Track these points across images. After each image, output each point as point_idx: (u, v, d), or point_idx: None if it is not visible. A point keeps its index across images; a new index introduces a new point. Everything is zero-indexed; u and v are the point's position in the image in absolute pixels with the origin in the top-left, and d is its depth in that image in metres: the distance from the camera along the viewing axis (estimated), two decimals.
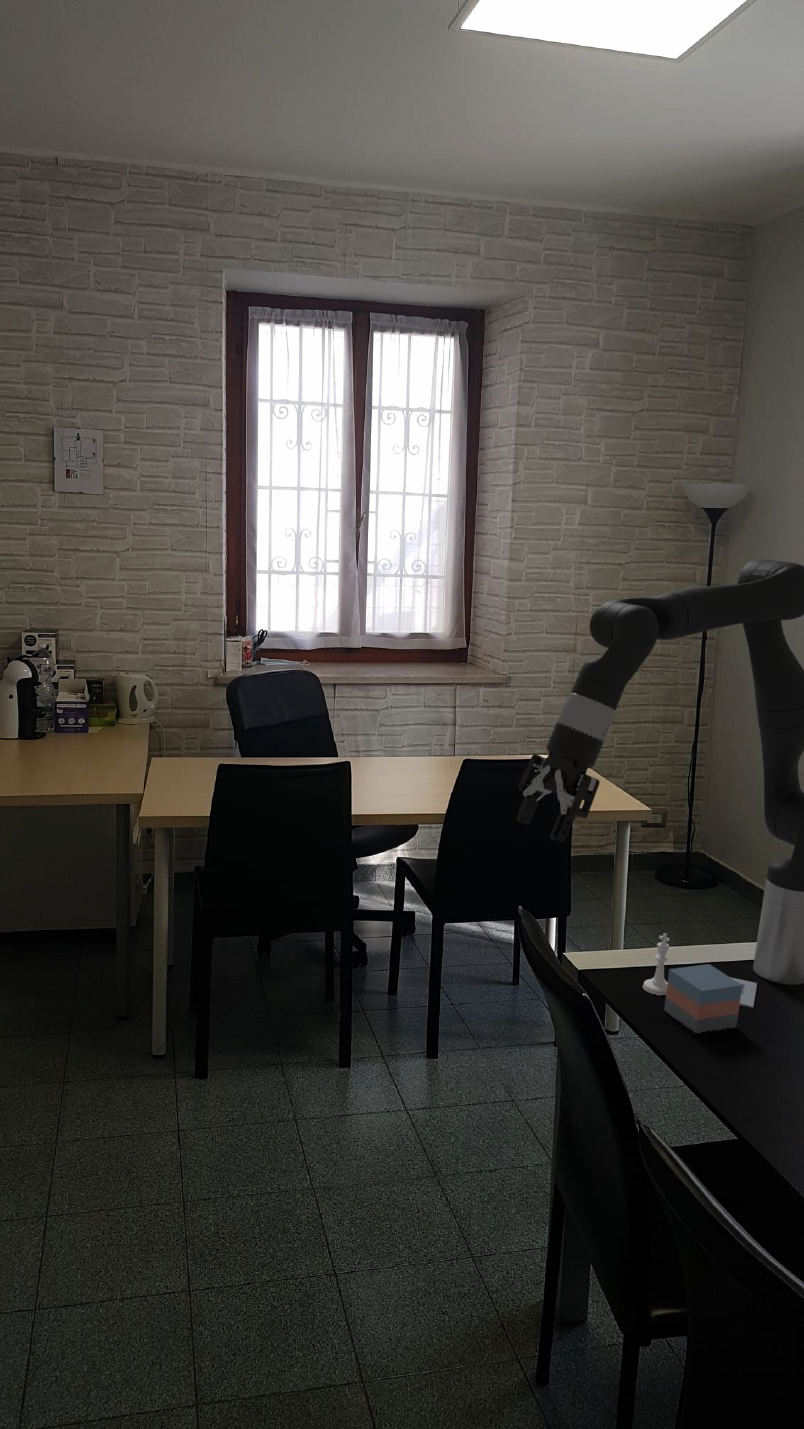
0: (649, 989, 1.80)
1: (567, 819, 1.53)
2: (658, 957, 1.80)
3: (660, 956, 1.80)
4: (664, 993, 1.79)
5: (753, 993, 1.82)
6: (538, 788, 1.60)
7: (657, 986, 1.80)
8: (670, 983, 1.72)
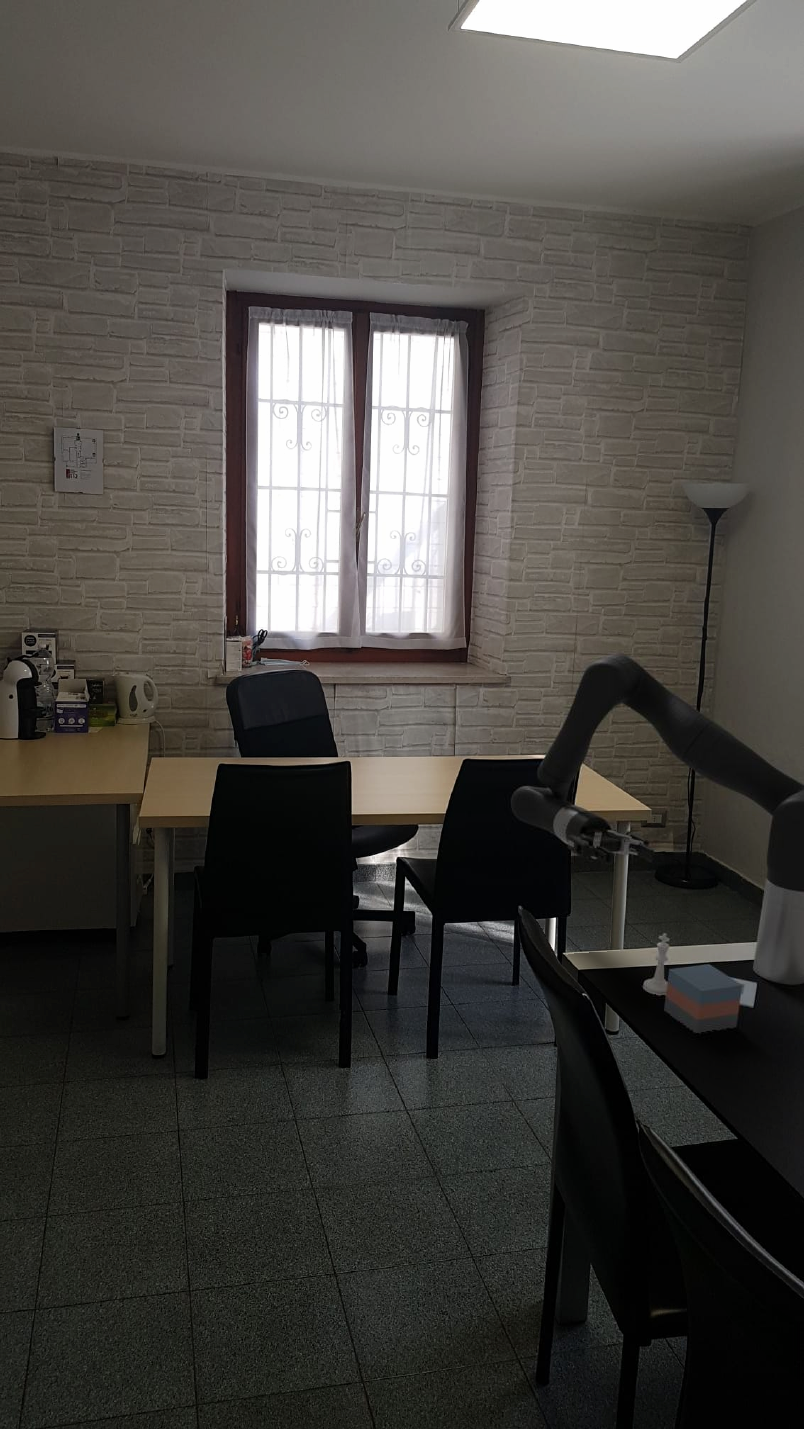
0: (649, 989, 1.80)
1: (595, 855, 1.88)
2: (658, 957, 1.80)
3: (660, 956, 1.80)
4: (664, 993, 1.79)
5: (753, 993, 1.82)
6: (626, 850, 1.94)
7: (657, 986, 1.80)
8: (670, 983, 1.72)
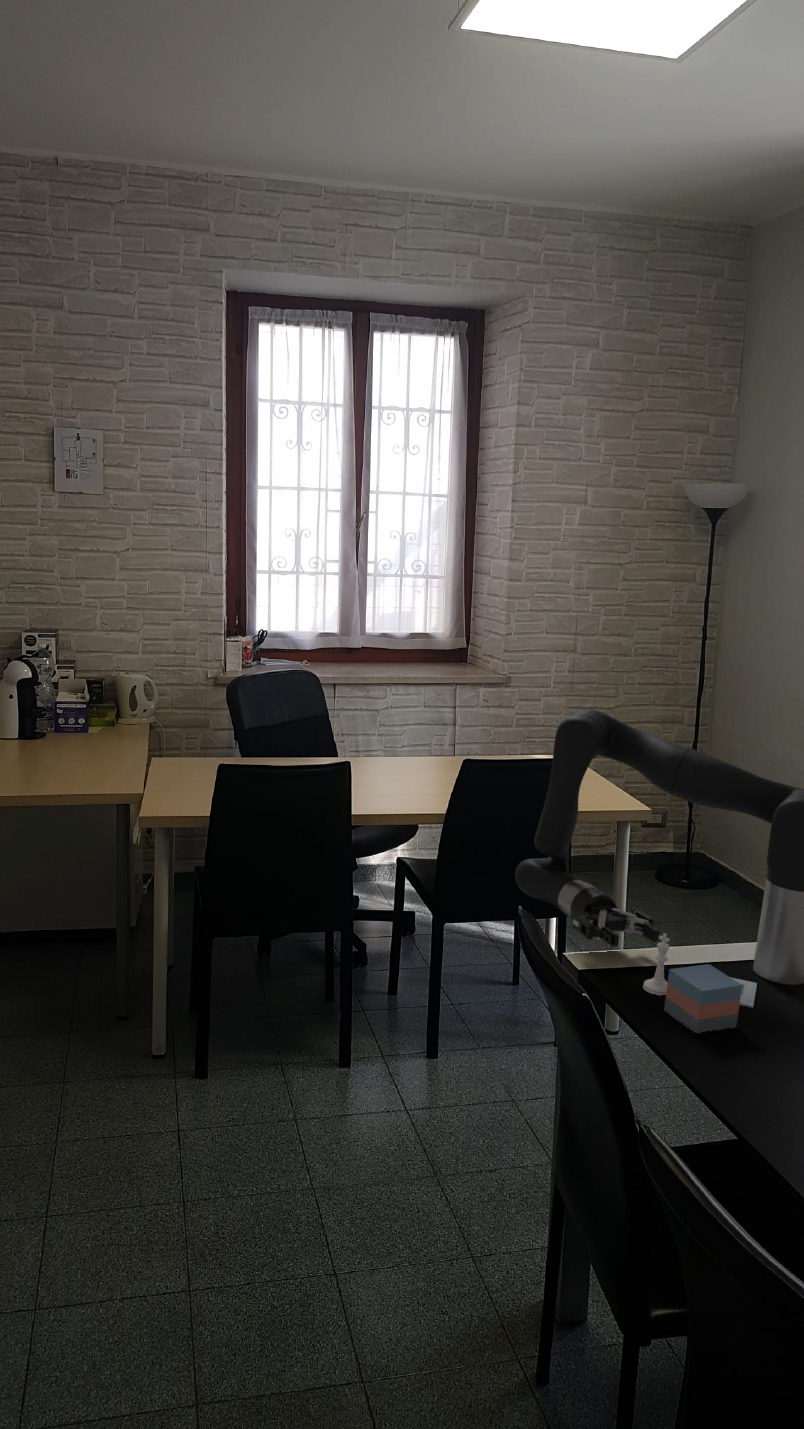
0: (649, 989, 1.80)
1: (600, 936, 1.88)
2: (658, 957, 1.80)
3: (660, 956, 1.80)
4: (664, 993, 1.79)
5: (753, 993, 1.82)
6: (631, 929, 1.93)
7: (657, 986, 1.80)
8: (670, 983, 1.72)
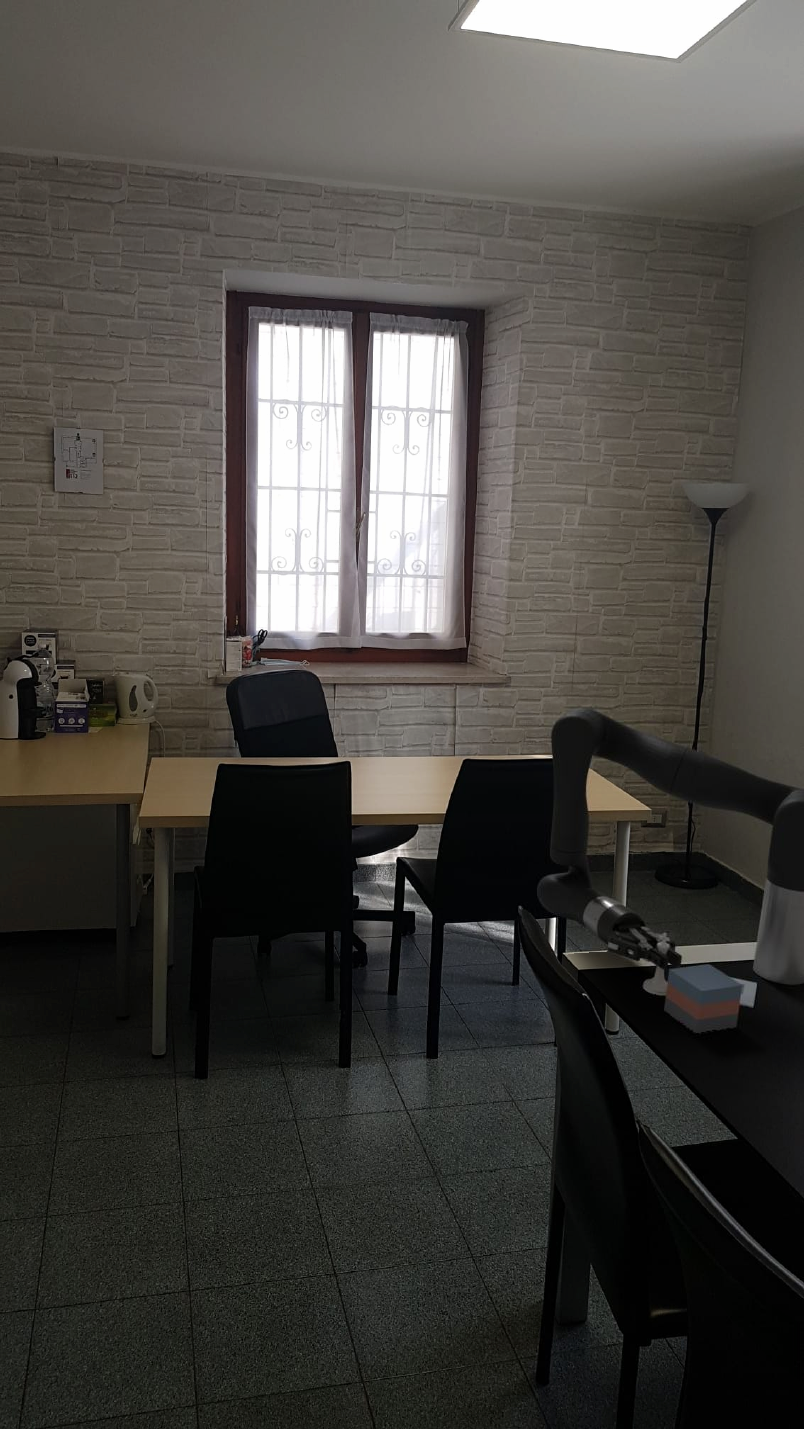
0: (649, 989, 1.80)
1: (648, 958, 1.80)
2: None
3: None
4: (664, 993, 1.79)
5: (753, 993, 1.82)
6: None
7: (657, 986, 1.80)
8: (670, 983, 1.72)
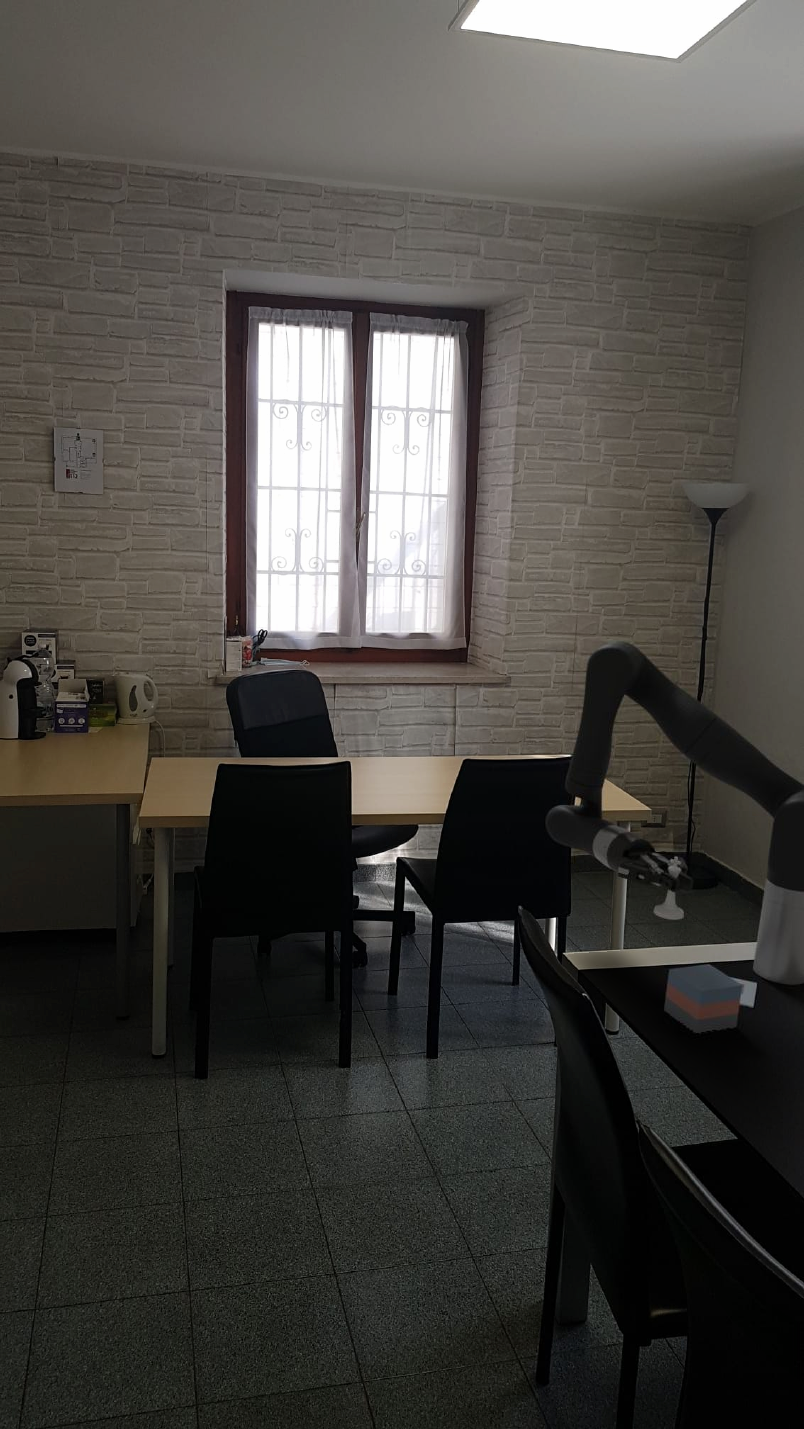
0: (660, 913, 1.77)
1: (659, 882, 1.77)
2: None
3: None
4: (675, 917, 1.76)
5: (753, 993, 1.82)
6: None
7: (668, 910, 1.77)
8: (670, 983, 1.72)
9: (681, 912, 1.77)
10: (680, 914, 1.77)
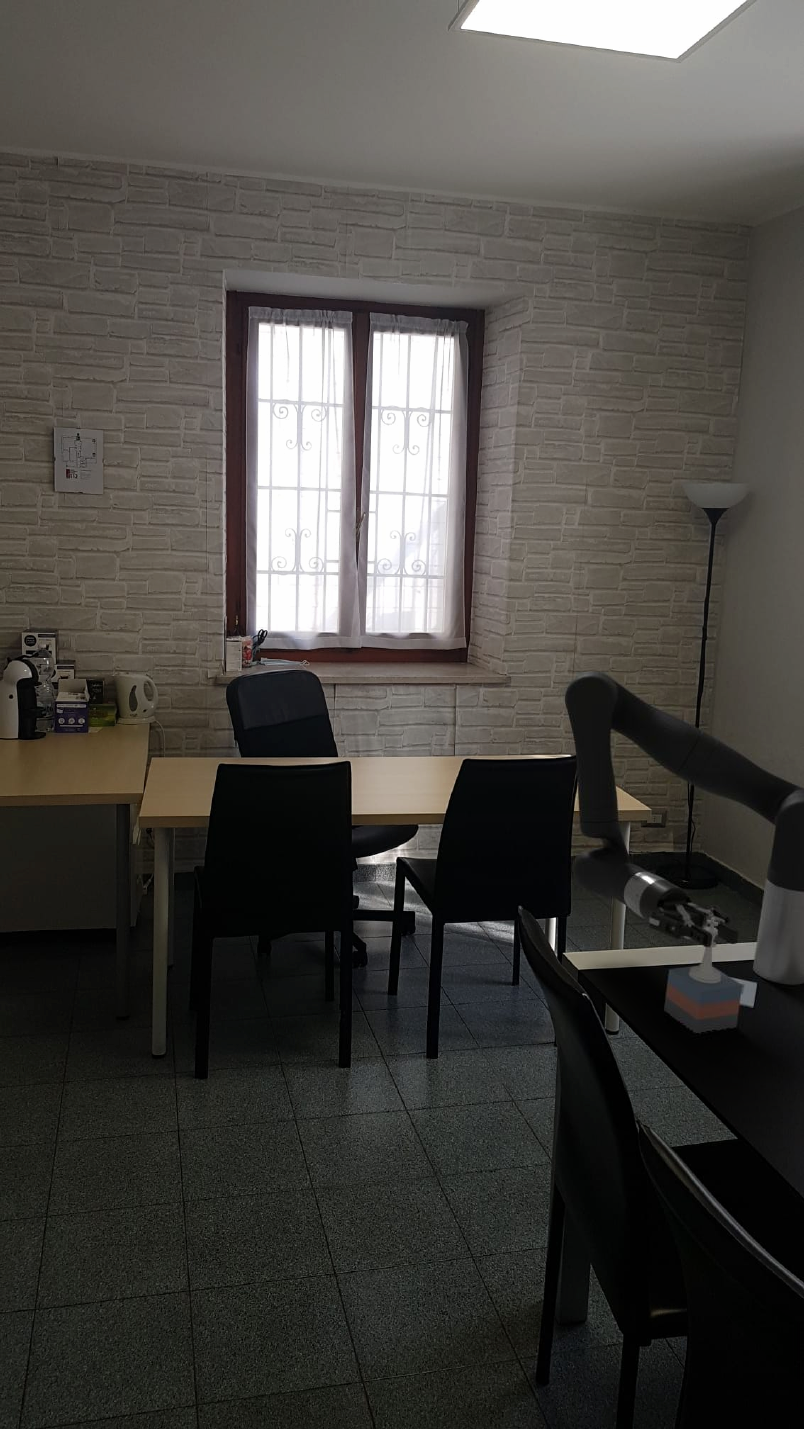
0: (696, 977, 1.69)
1: (690, 935, 1.68)
2: None
3: None
4: (712, 981, 1.68)
5: (753, 993, 1.82)
6: (705, 927, 1.73)
7: (705, 973, 1.69)
8: (670, 983, 1.72)
9: (718, 975, 1.69)
10: (717, 978, 1.68)
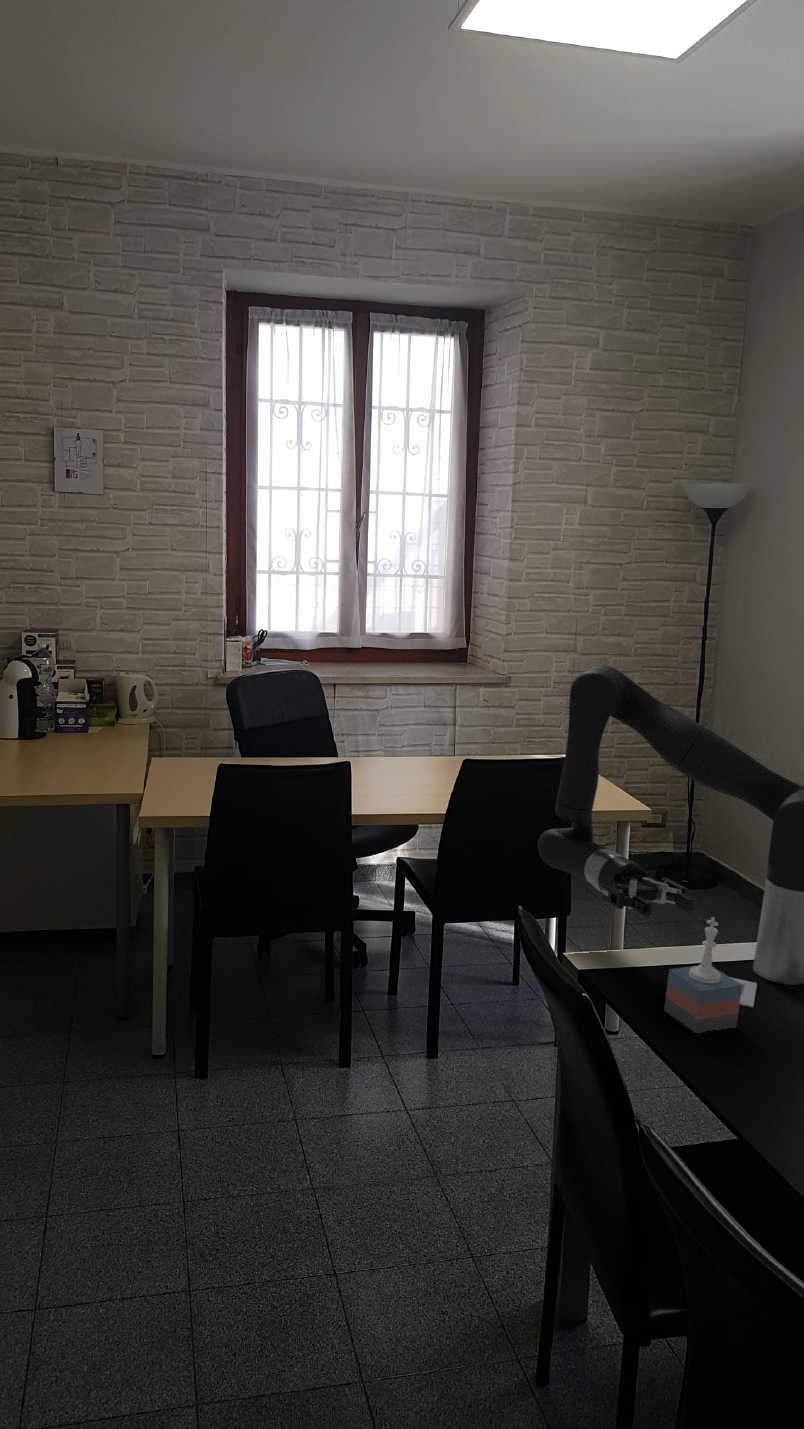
0: (696, 977, 1.69)
1: (631, 906, 1.79)
2: (706, 943, 1.69)
3: (708, 941, 1.69)
4: (712, 981, 1.68)
5: (753, 993, 1.82)
6: (663, 899, 1.84)
7: (705, 973, 1.69)
8: (670, 983, 1.72)
9: (718, 975, 1.69)
10: (717, 978, 1.68)
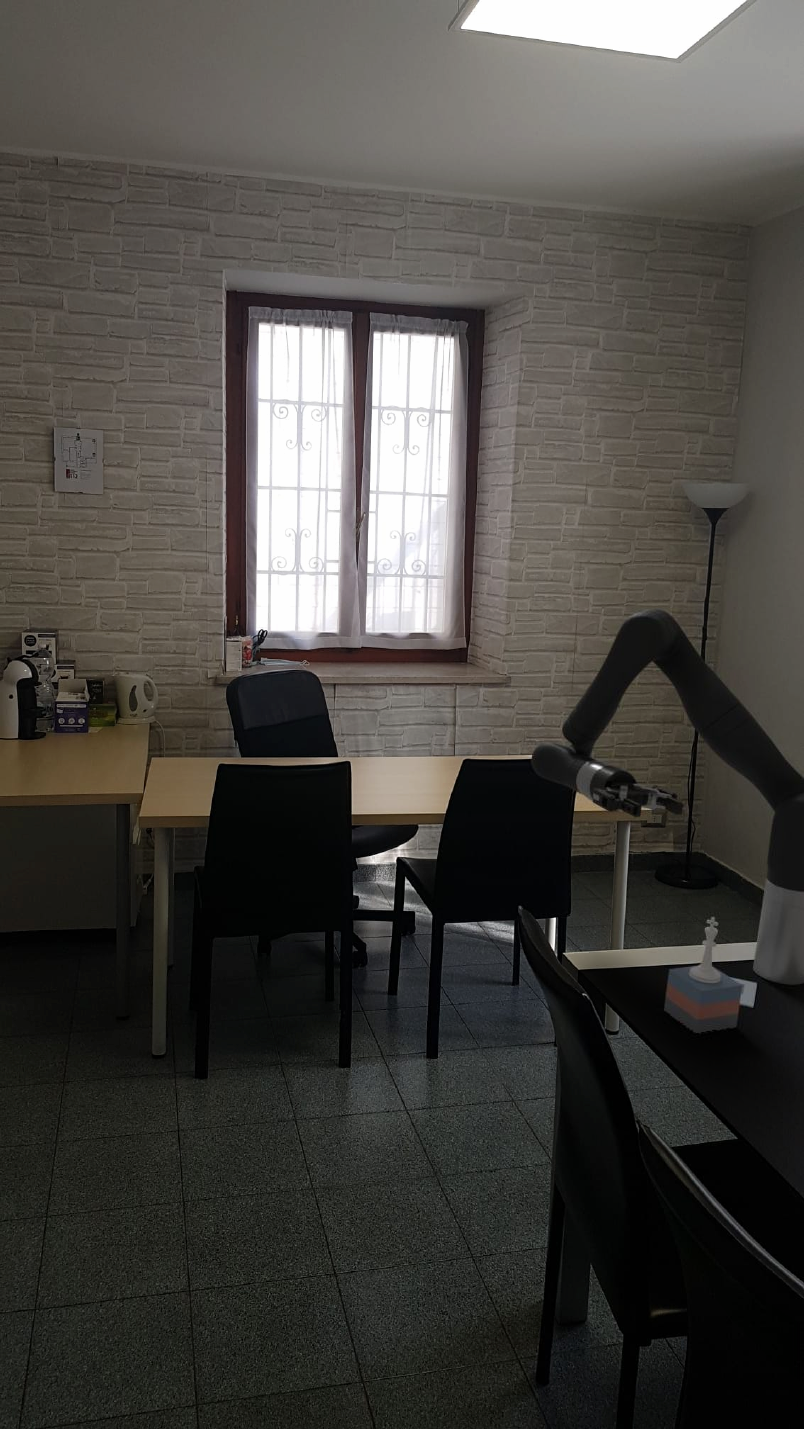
0: (696, 977, 1.69)
1: (622, 808, 1.81)
2: (706, 943, 1.69)
3: (708, 941, 1.69)
4: (712, 981, 1.68)
5: (753, 993, 1.82)
6: (653, 804, 1.87)
7: (705, 973, 1.69)
8: (670, 983, 1.72)
9: (718, 975, 1.69)
10: (717, 977, 1.68)
